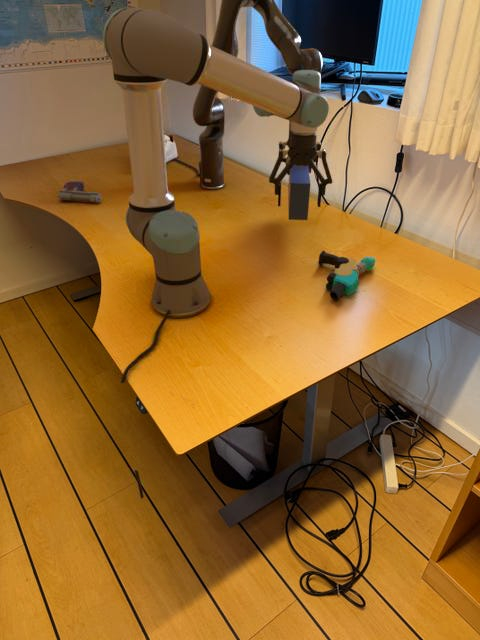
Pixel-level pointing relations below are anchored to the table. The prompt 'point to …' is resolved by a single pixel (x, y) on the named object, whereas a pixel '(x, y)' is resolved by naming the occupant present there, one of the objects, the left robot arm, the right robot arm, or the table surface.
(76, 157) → the table surface
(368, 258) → the toy gun
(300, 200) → the box
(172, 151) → the sneaker
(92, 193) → the toy gun
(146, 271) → the table surface
